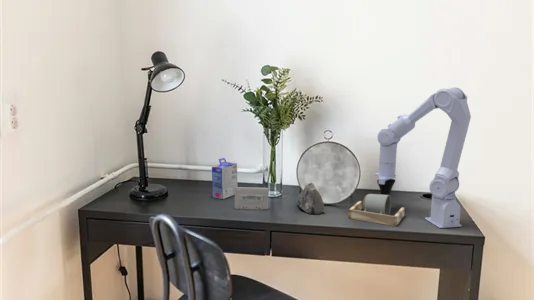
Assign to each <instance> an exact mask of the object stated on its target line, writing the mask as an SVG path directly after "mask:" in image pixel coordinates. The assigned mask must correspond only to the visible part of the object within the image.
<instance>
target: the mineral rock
mask: <svg viewBox="0 0 534 300" xmlns="http://www.w3.org/2000/svg"><path fill="white" fill-rule="evenodd" d="M296 203H297V205H298V206H299V208H300V209H301V210H302V211H304V212H306V213H307V214H311V215H312V214H314V215H315V214H317V215H319V214H321V213H324V212H325V204H324V200H323V198H322V195H321V194H320V192H319V191H318V190H317V188H316V185H315V184H314V183H313V182H309V183H308V184H306V185H305V186H304V188H303V190H302V191H301V192H300V193H299V194H298V196H297V198H296Z"/></svg>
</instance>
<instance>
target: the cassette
mask: <svg viewBox="0 0 534 300" xmlns="http://www.w3.org/2000/svg"><path fill="white" fill-rule="evenodd" d="M269 192H270V191H269V188H268V187H244V186H243V187H241V186H240V187H239V186H238V187H236V188H235V195H234V209H235V210H237V209H238V210H269ZM249 197H255V198H249ZM258 197H259V198H258Z"/></svg>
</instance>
